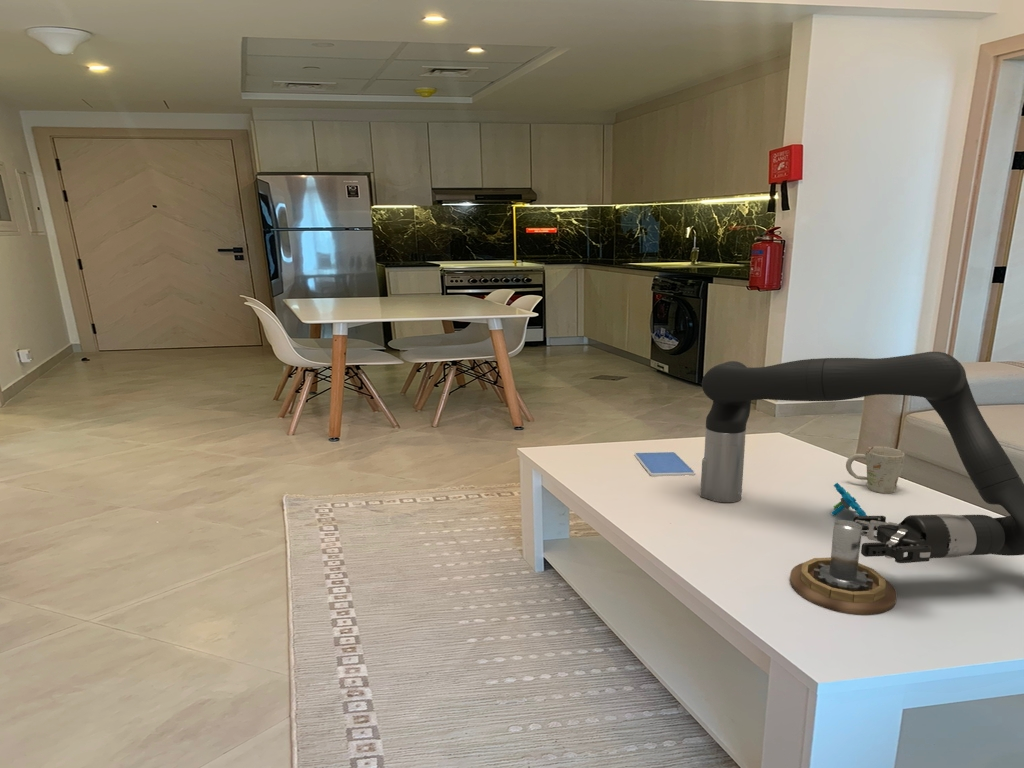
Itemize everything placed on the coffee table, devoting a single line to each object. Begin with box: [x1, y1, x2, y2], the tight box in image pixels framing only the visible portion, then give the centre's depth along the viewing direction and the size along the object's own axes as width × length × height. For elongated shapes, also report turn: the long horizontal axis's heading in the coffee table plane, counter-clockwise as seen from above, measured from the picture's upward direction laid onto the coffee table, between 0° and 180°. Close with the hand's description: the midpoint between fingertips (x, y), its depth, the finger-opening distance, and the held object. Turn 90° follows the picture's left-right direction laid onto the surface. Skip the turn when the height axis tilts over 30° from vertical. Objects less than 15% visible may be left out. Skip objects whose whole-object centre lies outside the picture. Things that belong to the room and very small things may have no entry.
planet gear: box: [813, 519, 873, 592], centre depth 117 cm, size 9×9×11 cm
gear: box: [831, 482, 868, 516], centre depth 150 cm, size 11×6×10 cm
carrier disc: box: [789, 557, 897, 616], centre depth 118 cm, size 17×17×3 cm
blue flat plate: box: [633, 451, 696, 477], centre depth 187 cm, size 19×13×1 cm, turn 3°
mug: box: [845, 446, 905, 494], centre depth 167 cm, size 8×13×10 cm, turn 58°
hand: (848, 539), depth 117 cm, fingers open, 8 cm apart
